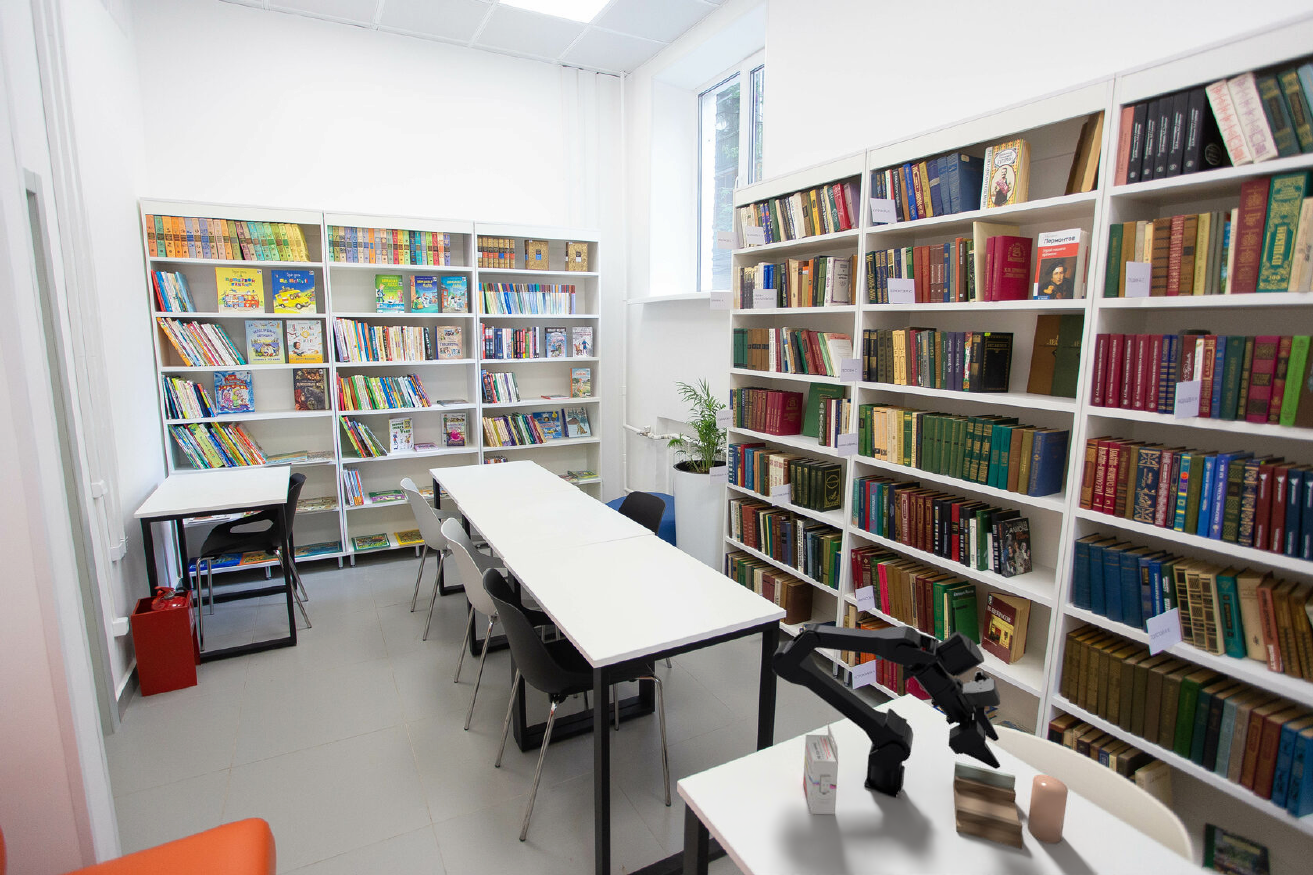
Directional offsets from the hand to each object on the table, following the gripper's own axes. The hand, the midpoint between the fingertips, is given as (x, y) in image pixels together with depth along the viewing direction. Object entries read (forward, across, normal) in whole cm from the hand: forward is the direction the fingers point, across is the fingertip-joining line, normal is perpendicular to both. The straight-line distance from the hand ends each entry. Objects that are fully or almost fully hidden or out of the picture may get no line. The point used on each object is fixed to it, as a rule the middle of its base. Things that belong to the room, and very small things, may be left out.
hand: (997, 753), depth 125 cm
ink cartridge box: (-12, -11, +32) cm, 36 cm away
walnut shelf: (+9, 0, +10) cm, 14 cm away
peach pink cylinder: (+16, 0, +3) cm, 16 cm away
